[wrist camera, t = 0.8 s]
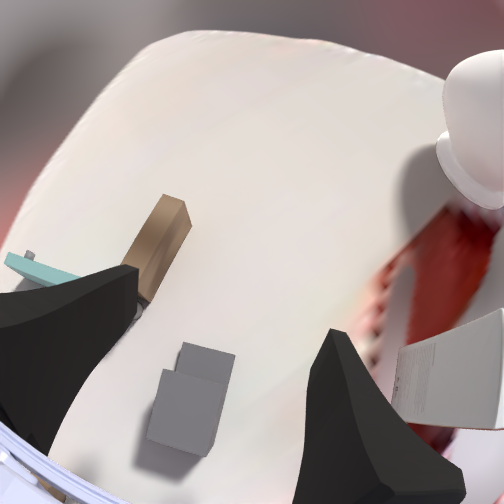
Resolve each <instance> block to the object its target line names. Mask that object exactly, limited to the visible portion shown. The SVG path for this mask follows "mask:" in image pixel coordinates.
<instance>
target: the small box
mask: <svg viewBox="0 0 504 504" xmlns="http://www.w3.org/2000/svg"><path fill="white" fill-rule="evenodd" d="M391 406H392V407H393V408H394V410H395V411H396V412H397V413H398V415H399V416H400V417H401V418H402V419H403V420H404V422H406V423H415V424H422V425H430V426H439V427H449V428H462V429H476V430H504V308H501V309H498V310H496V311H494V312H492V313H489V314H487V315H485V316H483V317H480V318H478V319H476V320H474V321H471V322H469V323H466V324H464V325H461V326H459V327H456V328H454V329H451V330H449V331H446V332H444V333H441V334H439V335H436V336H434V337H431V338H428V339H426V340H423V341H420V342H417V343H413V344H410V345H407V346H405V347H401V348H399V353H398V361H397V368H396V376H395V383H394V389H393V396H392V401H391Z"/></svg>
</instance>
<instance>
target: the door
mask: <svg viewBox="0 0 504 504" xmlns="http://www.w3.org/2000/svg"><path fill="white" fill-rule="evenodd" d="M34 257H35V254H34V253H33V252H31V251H29V250H27V251H26V254H25V256H24V257H21V256H18V255H16V254H13V253H10V252H8V254H7V257H6V259H5V262H4V264H5V265H7V266H8V267H10V268H11V269H12V270H14V271H15V272H17V273H18V274H20V275H21V276H23V277H25V278H26V279H29V280H31V281H34V282H36V283H38V284H41V285H43V286H46V287H49V286H54V285H58V284H61V283H64V282H68V281H71V280H75V279H78V278H82V277H79V276H76V275H73V274H70V273H67V272H64V271H61V270H58V269H55V268H52V267H49V266H46V265H43V264H41V263H38V262H35V261H33V260H34ZM142 312H143V307H142V305H141V304H140V303H139V302H138V306H137V314H136V315H135V317H134V319H133V320H135V319H138V318H139V317H140V316H141V315H142Z"/></svg>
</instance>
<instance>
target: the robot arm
mask: <svg viewBox="0 0 504 504" xmlns="http://www.w3.org/2000/svg"><path fill="white" fill-rule="evenodd" d="M138 283H139V268H136V267H133V266H130V265H127V264H123V265H119V266H116V267H112V268H109V269H106V270H103V271H100V272H97V273H94V274H91V275H88V276H85V277H82V278H78V279H75V280H71V281H68V282H64V283H61V284H58V285H54V286H49V287H45V288H40V289H34V290H28V291H19V292H10V293H0V504H63V503H62V502H60V501H58V500H57V499H55V498H54V497H53V496H52V495H51V494H50V493H49V492H47V490H46V489H45V488H44V487H43V486H42V485H41V484H40V482H39V481H38V479H37V478H36V477H35V476H33V475H32V474H31V473H30V472H29V471H31V472H32V473H33V474H35V475H36V476H38V477H39V478H40V479H42V480H43V481H45V482H46V483H48V484H49V485H51V486H52V487H54V488H55V489H57V490H58V491H60V492H62V493H63V494H65V495H66V496H68V497H70V498H71V499H73V500H75V501H76V502H78V503H80V504H131V503H129V502H127V501H124V500H122V499H120V498H118V497H116V496H114V495H112V494H110V493H108V492H106V491H104V490H102V489H100V488H98V487H96V486H94V485H93V484H91V483H89V482H87V481H85V480H84V479H82V478H80V477H78V476H77V475H75V474H73V473H72V472H70V471H68V470H67V469H65V468H63V467H62V466H60V465H59V464H57V463H56V462H54V461H52V460H51V459H49V458H48V457H47V456H48V454H49V451H50V448H51V446H52V444H53V441H54V439H55V436H56V434H57V432H58V430H59V428H60V425H61V423H62V421H63V419H64V417H65V415H66V413H67V411H68V410H69V408H70V406H71V404H72V402H73V401H74V399H75V397H76V395H77V394H78V392H79V390H80V389H81V387H82V386H83V384H84V382H85V381H86V379H87V378H88V376H89V375H90V373H91V372H92V371H93V369H94V368H95V367H96V366H97V365H98V363H99V362H100V361H101V360H102V359H103V357H104V356H105V355H106V354H107V353H108V352H109V350H110V349H111V348H112V347H113V346H114V345H115V343H116V342H117V341H118V340H119V339H120V337H121V336H122V335H123V334H124V332H125V331H126V330H127V328H128V327H129V325H130V323H131V322H132V320H133V319H134V317H135V315H136V314H137V306H138ZM17 461H18V462H19V463H20V464H21V465H20V464H19V463H18V462H17ZM22 465H23V466H24V467H25V468H27V469H28V470H29V471H27V470H26V469H25V468H24V467H23V466H22ZM465 496H466V488H465V483H464V478H463V473H462V470H461V469H460V468H458V467H457V466H455V465H454V464H453V463H451V462H450V461H448V460H447V459H445V458H444V457H443V456H441V455H440V454H439V453H437V452H436V451H435V450H434V449H433V448H431V447H430V446H429V445H428V444H427V443H426V442H424V441H423V440H422V439H421V438H420V437H419V436H418V435H417V434H416V433H415V432H414V431H413V430H412V429H411V428H410V427H409V426H408V425H407V424H406V423H405V422H404V420H403V419H402V418H401V417H400V416H399V415H398V413H397V412H396V411H395V410H394V408H393V407H392V406H391V405H390V403H389V402H388V401H387V399H386V398H385V397H384V395H383V394H382V392H381V391H380V390H379V388H378V386H377V385H376V383H375V382H374V380H373V379H372V377H371V376H370V374H369V372H368V371H367V369H366V367H365V365H364V364H363V362H362V360H361V358H360V357H359V355H358V353H357V351H356V349H355V348H354V346H353V344H352V342H351V340H350V338H349V337H348V335H347V333H346V332H342V331H338V330H335V329H331V328H330V330H329V332H328V334H327V336H326V338H325V340H324V342H323V344H322V346H321V348H320V350H319V353H318V355H317V357H316V359H315V361H314V363H313V365H312V367H311V369H310V375H309V381H308V387H307V396H306V420H305V441H304V451H303V457H302V462H301V467H300V473H299V477H298V482H297V486H296V490H295V495H294V498H293V502H292V504H460V503H461V502H462V501H463V499H464V498H465Z"/></svg>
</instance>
